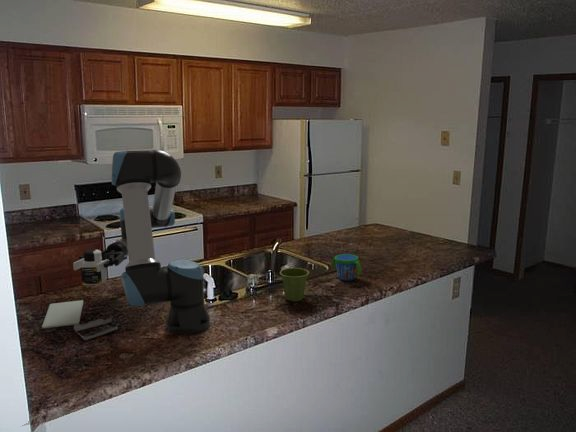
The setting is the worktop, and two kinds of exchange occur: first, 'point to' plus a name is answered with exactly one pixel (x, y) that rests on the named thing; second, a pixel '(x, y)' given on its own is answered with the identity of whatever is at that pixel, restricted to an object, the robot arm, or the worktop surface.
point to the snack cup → (346, 266)
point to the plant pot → (294, 283)
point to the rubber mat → (63, 314)
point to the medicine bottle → (92, 268)
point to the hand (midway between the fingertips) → (85, 267)
